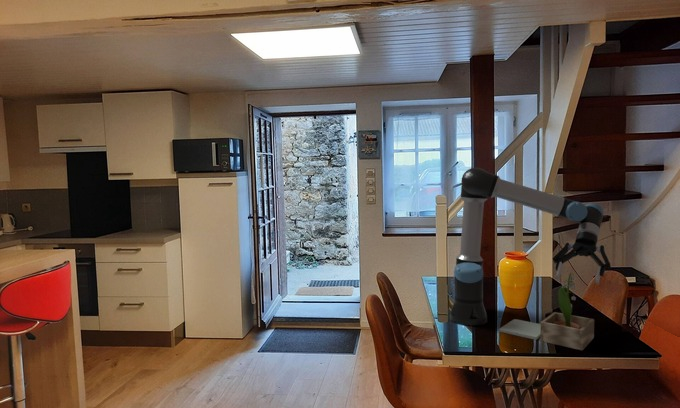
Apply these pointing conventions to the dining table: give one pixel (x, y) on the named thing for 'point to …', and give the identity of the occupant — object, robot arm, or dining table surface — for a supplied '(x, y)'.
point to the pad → (522, 329)
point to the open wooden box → (567, 331)
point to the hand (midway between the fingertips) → (576, 279)
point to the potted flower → (566, 304)
